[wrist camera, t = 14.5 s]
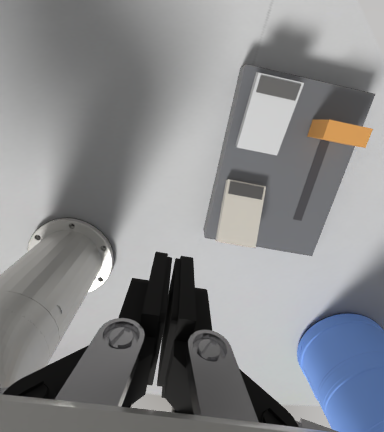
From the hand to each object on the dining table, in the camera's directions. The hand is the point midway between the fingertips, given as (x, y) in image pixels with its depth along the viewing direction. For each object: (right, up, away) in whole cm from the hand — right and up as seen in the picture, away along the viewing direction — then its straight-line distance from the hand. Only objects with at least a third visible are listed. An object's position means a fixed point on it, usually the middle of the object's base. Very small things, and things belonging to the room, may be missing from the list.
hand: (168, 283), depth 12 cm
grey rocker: (+10, +14, +19) cm, 25 cm away
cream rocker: (+7, +3, +22) cm, 24 cm away
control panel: (+13, +10, +26) cm, 30 cm away
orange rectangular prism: (+18, +13, +21) cm, 31 cm away
